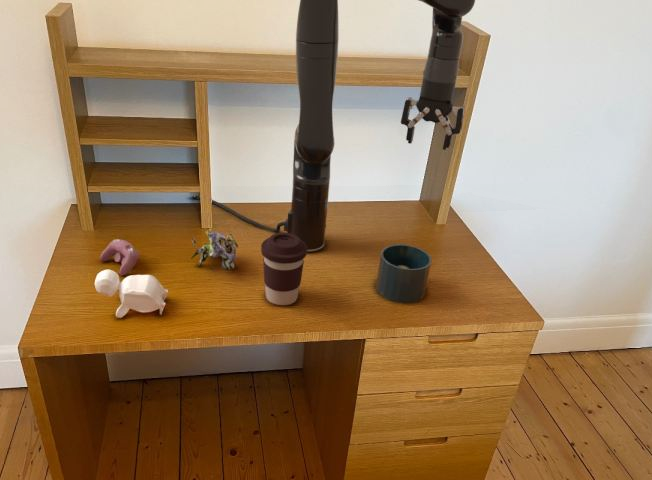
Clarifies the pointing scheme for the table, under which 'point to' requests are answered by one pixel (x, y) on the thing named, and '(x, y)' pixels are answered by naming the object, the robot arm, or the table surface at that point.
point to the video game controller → (121, 255)
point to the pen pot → (403, 273)
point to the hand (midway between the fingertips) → (427, 145)
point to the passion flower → (218, 249)
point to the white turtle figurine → (132, 291)
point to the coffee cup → (283, 267)
